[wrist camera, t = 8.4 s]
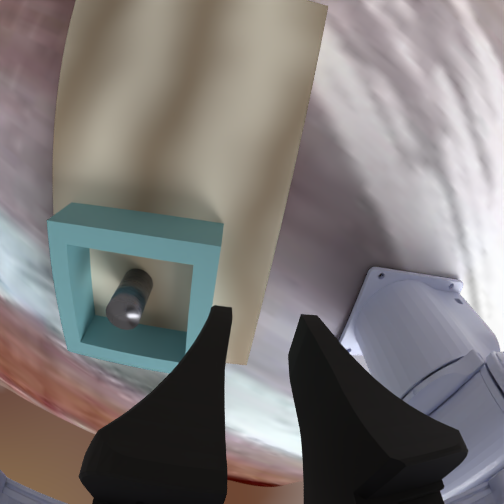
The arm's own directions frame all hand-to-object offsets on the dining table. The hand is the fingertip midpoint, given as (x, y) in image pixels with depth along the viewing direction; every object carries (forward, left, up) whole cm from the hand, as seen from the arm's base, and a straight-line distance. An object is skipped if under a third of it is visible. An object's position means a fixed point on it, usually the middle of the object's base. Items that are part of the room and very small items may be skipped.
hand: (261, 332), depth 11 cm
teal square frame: (+7, +4, -8) cm, 11 cm away
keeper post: (+7, +4, -8) cm, 11 cm away
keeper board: (+6, -2, -9) cm, 11 cm away
